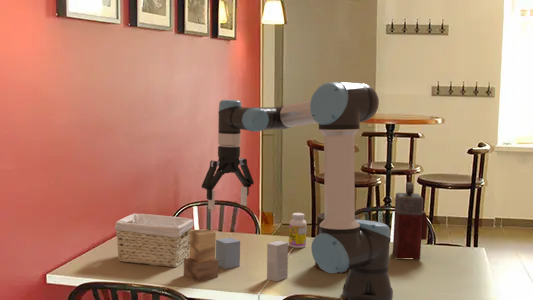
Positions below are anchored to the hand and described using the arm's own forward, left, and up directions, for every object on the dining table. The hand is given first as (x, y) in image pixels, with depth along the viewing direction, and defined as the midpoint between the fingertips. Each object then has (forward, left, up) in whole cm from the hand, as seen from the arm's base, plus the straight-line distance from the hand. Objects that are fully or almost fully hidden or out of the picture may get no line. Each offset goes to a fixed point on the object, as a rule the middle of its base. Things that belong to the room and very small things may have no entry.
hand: (227, 207), depth 231 cm
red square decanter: (-27, -65, -21) cm, 73 cm away
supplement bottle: (+7, -39, -21) cm, 44 cm away
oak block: (-5, +13, -15) cm, 21 cm away
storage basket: (+20, +17, -21) cm, 34 cm away
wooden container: (-22, -32, -21) cm, 44 cm away
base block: (-5, +14, -21) cm, 26 cm away
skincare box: (-21, -6, -21) cm, 30 cm away
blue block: (0, -1, -21) cm, 21 cm away
